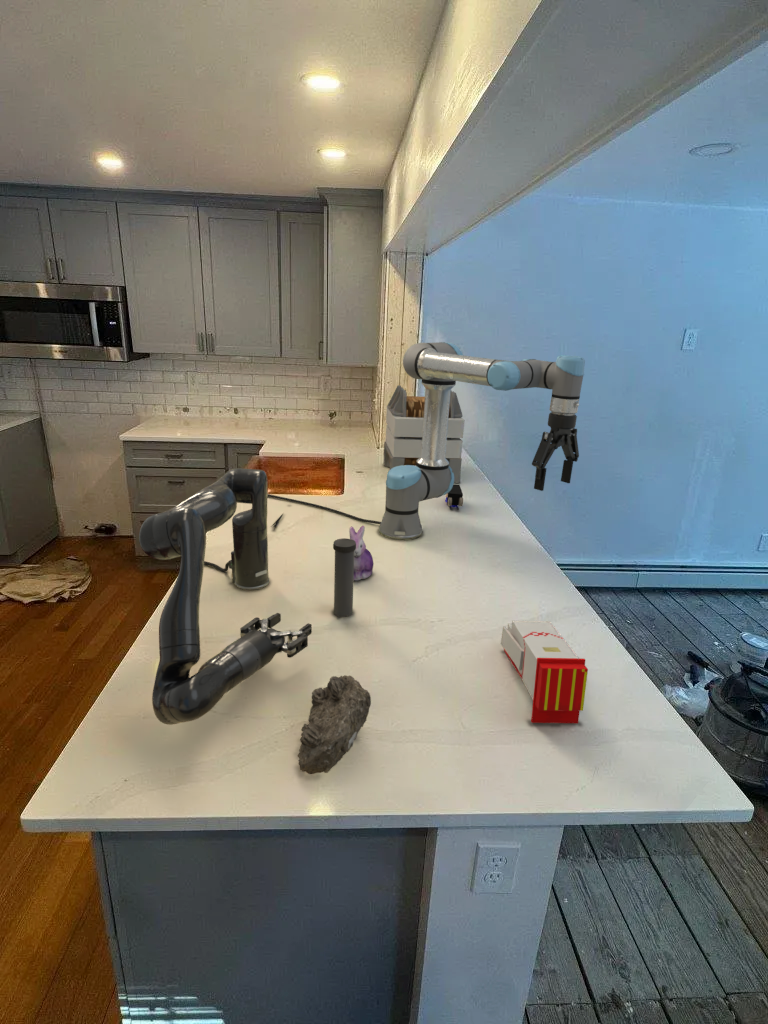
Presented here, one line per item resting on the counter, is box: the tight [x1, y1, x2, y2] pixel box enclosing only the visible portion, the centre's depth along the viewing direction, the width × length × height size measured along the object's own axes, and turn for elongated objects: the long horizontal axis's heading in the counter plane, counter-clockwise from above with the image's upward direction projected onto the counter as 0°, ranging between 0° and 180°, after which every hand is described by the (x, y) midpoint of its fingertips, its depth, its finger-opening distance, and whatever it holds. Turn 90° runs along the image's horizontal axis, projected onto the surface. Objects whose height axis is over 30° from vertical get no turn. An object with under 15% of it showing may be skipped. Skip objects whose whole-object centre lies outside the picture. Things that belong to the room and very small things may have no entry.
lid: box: [332, 538, 356, 553], centre depth 141 cm, size 6×6×2 cm
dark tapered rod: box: [270, 513, 284, 530], centre depth 210 cm, size 2×28×2 cm
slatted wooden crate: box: [383, 384, 465, 484], centre depth 268 cm, size 34×33×41 cm
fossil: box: [296, 674, 372, 775], centre depth 103 cm, size 22×10×15 cm
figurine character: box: [444, 483, 464, 511], centre depth 230 cm, size 7×8×15 cm
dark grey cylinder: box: [333, 550, 354, 618], centre depth 144 cm, size 5×5×19 cm
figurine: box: [348, 525, 374, 581], centre depth 166 cm, size 9×10×15 cm
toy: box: [500, 620, 589, 724], centre depth 121 cm, size 12×13×30 cm
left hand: (294, 621), depth 127 cm, fingers open, 8 cm apart
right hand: (552, 485), depth 166 cm, fingers open, 13 cm apart
